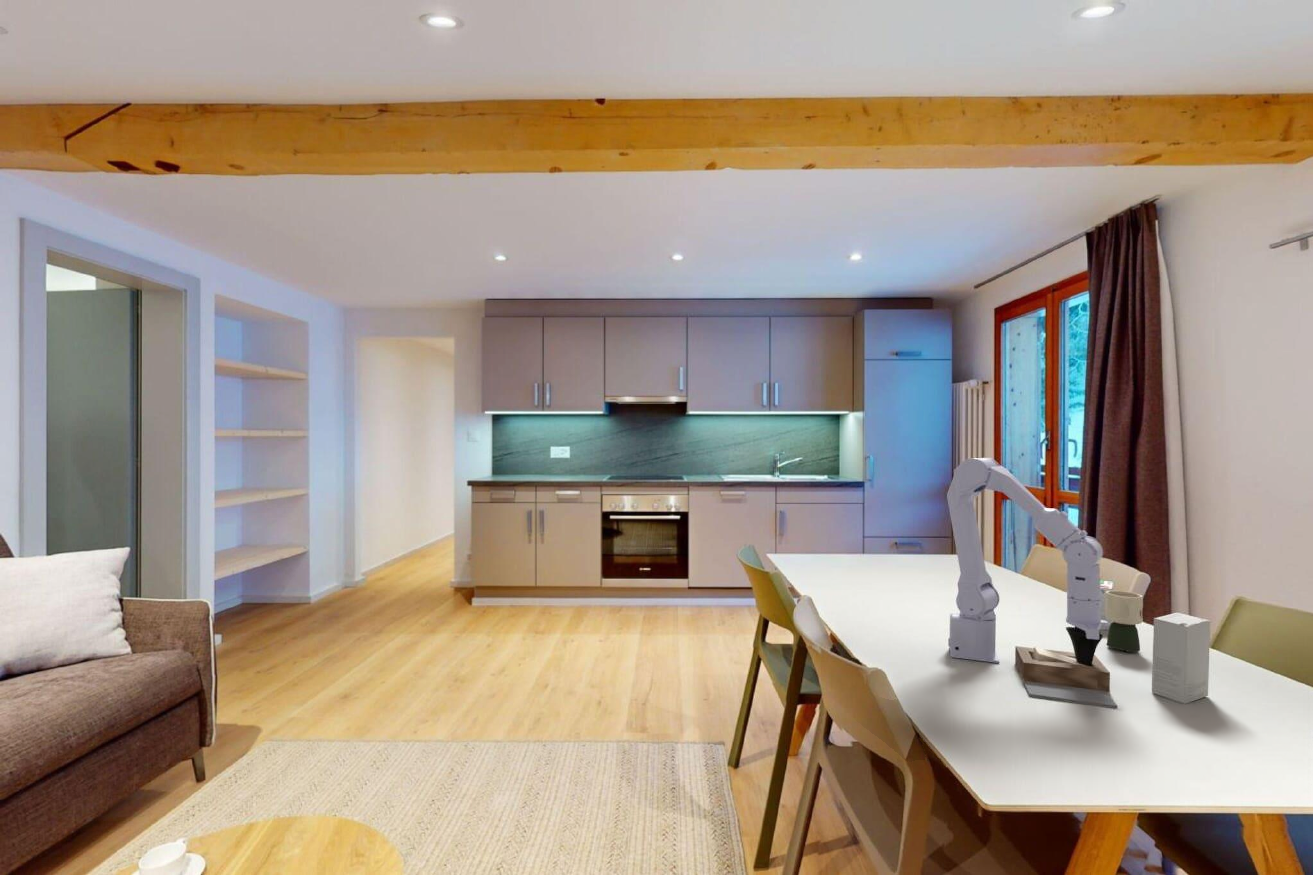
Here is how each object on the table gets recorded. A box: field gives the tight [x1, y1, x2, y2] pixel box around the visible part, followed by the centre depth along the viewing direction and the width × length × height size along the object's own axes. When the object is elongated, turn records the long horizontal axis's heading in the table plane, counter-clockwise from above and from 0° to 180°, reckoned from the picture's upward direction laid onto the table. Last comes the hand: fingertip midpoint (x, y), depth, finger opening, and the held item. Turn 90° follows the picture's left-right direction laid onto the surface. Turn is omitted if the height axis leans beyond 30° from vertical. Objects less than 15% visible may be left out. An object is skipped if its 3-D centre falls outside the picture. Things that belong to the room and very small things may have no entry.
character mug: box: [1105, 589, 1144, 653], centre depth 152 cm, size 11×7×13 cm, turn 162°
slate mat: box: [1022, 680, 1118, 709], centre depth 125 cm, size 14×7×1 cm, turn 69°
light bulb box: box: [1099, 580, 1114, 631], centre depth 174 cm, size 11×7×11 cm, turn 144°
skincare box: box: [1151, 612, 1211, 705], centre depth 125 cm, size 8×6×15 cm
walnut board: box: [1014, 645, 1111, 693], centre depth 134 cm, size 15×11×4 cm
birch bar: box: [1032, 646, 1086, 666], centre depth 134 cm, size 9×4×2 cm, turn 69°
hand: (1084, 665), depth 133 cm, fingers closed, pressing on birch bar, walnut board
